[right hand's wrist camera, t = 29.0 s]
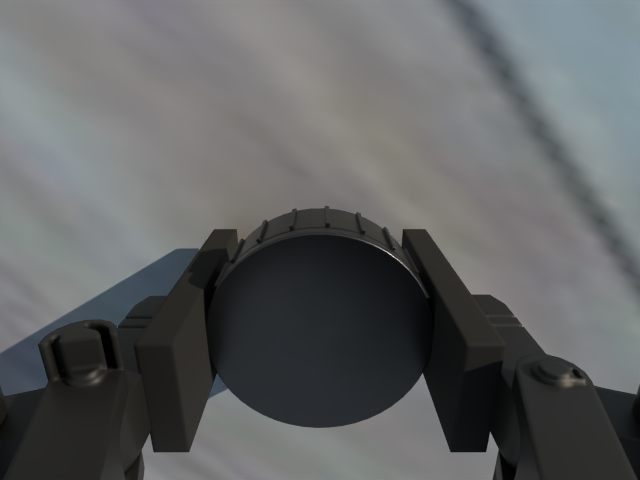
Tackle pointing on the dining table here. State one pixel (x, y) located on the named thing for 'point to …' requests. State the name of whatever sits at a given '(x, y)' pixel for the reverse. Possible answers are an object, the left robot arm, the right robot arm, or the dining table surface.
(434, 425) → the dining table surface
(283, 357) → the lid
